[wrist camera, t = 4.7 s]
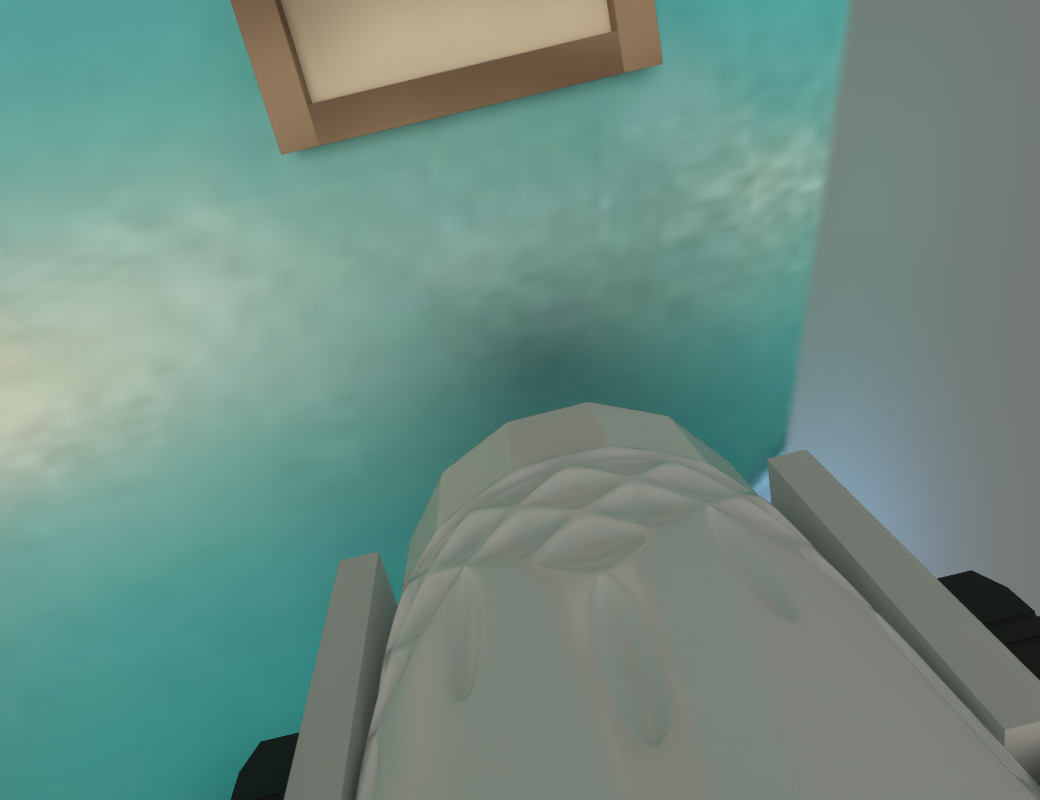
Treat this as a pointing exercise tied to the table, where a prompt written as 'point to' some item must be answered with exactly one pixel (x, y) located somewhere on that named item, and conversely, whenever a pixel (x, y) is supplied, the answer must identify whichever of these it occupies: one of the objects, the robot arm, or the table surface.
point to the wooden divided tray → (428, 57)
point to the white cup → (648, 641)
